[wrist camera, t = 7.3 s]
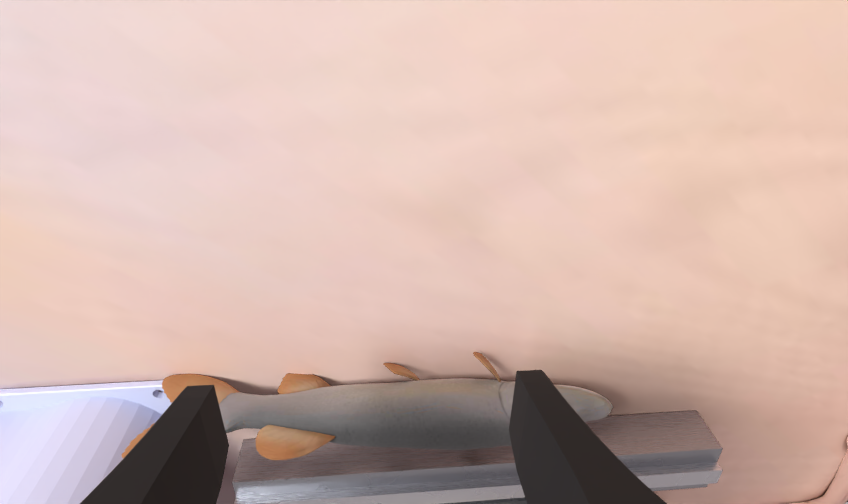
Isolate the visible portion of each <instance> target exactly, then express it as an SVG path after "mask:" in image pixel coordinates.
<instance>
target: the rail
mask: <svg viewBox="0 0 848 504" xmlns="http://www.w3.org/2000/svg"><path fill="white" fill-rule="evenodd" d="M585 423H586V424H587V425H588V426H589V427H590V429H591V430H592V431H593V432H594V433H595V434H596V435H597V436H598V437H599V439H600V440H601V441H602V442H603V443H604V444H605V445H606V446H607V447H608V448H609V449H610V450H611V451H612V453H613V454H614V455H615V456H616V457H617V458H618V459H619V460H620V461H621V462H622V463H623V464H624V465H625V466H626V467H627V468H628V469H629V470H630V471H631V472H632V473H633V474H635V475H636V476H637V477H638V478H639V479H640V480H641V481H642V482H643V483H644V484H645V485H646V486H647V487H648V488H649V489H651V490H652V491H660V490H673V489H687V488H700V487H707V485H708V484H711V483H717V482H718V480H719V478H720V475H721V473H722V471H723V470H722V468H721V467H720V465H719V464H718V462H717V461H718V459H719V456H720V454H721V451H722V449H723V448H722V447H721V445H720V444H719V442H718V441H717V439H716V438H715V437H714V435H713V434H712V432H711V431H710V429H709V428H708V426H707V425H706V424H705V422H704V421H703V419H702V418H701V416H700V415H699V414H698V412H697V411H682V412H666V413H651V414H635V415H619V416H606V417H604V418H602V419H599V420H593V421H588V422H585ZM232 484H233V488H234V492H235V495H236V497H235V501H234V504H487V503H500V502H514V501H526V499H525V495H524V492H523V489H522V486H521V483H520V480H519V476H518V473H517V470H516V465H515V460H514V455H513V450H512V446H498V447H493V448H481V449H470V450H443V449H416V448H398V447H368V446H353V445H342V444H336V443H331V442H328V443H326V444H325V445H323V446H321V447H320V448H318V449H316V450H315V451H313V452H311V453H309V454H307V455H305V456H301V457H297V458H293V459H287V460H270V459H267V458H265V457H263V456H261V455H260V454H259V452H258V451H257V449H256V439H245V440H243V443H242V447H241V450H240V454H239V458H238V462H237V466H236V469H235V473H234V477H233V481H232Z"/></svg>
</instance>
